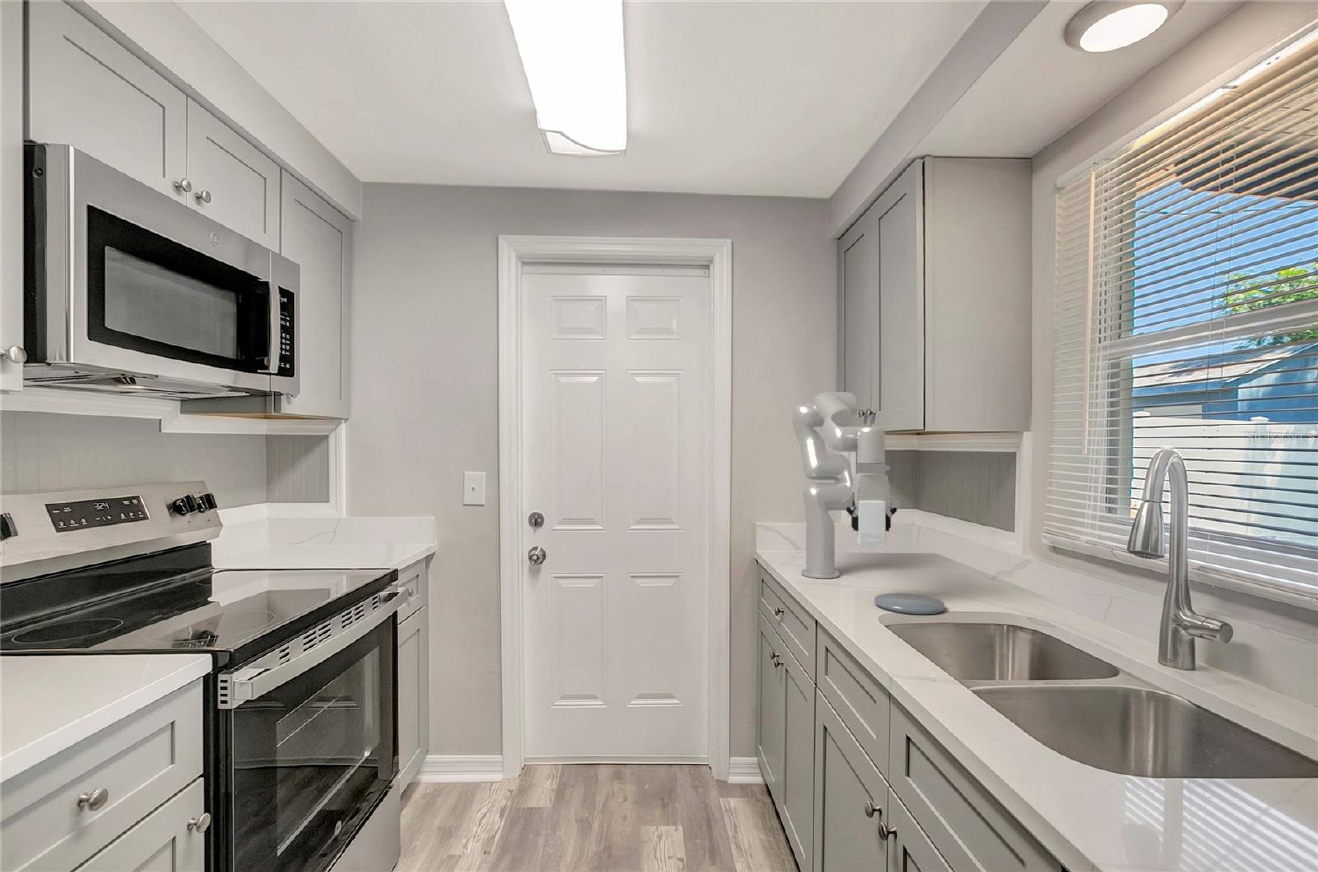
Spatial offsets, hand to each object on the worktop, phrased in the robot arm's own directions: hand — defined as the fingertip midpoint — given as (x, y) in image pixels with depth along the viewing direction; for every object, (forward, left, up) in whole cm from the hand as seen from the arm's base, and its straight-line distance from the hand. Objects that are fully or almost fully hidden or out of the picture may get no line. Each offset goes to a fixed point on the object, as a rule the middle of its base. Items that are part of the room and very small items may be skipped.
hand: (871, 530), depth 179 cm
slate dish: (+5, +9, -20) cm, 23 cm away
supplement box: (0, 0, -4) cm, 4 cm away
